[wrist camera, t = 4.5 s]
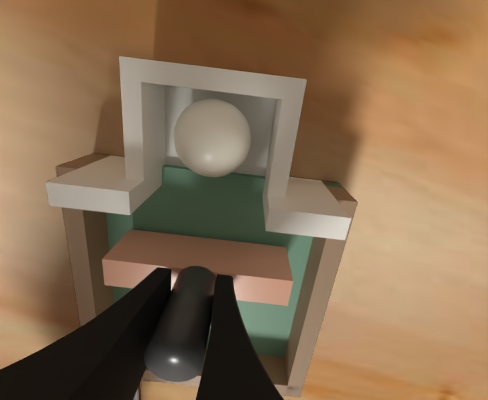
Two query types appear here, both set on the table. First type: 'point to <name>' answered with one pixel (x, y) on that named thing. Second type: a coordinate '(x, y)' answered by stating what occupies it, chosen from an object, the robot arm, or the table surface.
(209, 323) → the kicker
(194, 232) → the pitch
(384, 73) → the table surface
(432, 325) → the table surface
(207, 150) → the ball
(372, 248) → the table surface
